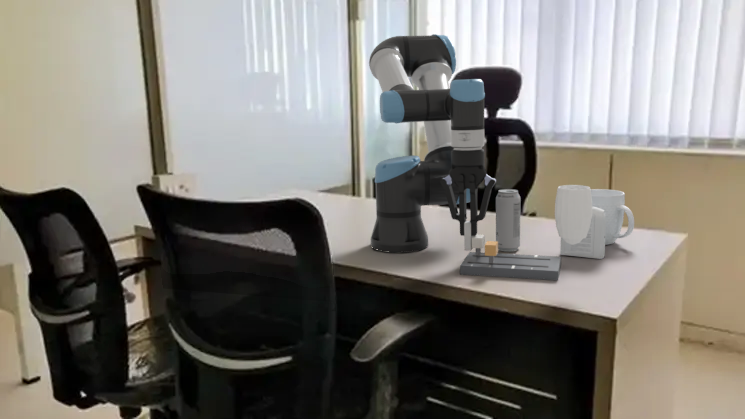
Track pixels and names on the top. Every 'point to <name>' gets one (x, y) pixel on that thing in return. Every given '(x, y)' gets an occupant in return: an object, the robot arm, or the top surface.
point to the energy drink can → (508, 220)
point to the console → (512, 266)
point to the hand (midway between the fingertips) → (468, 249)
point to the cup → (573, 212)
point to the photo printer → (589, 239)
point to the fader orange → (491, 250)
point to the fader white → (478, 243)
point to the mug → (613, 212)
